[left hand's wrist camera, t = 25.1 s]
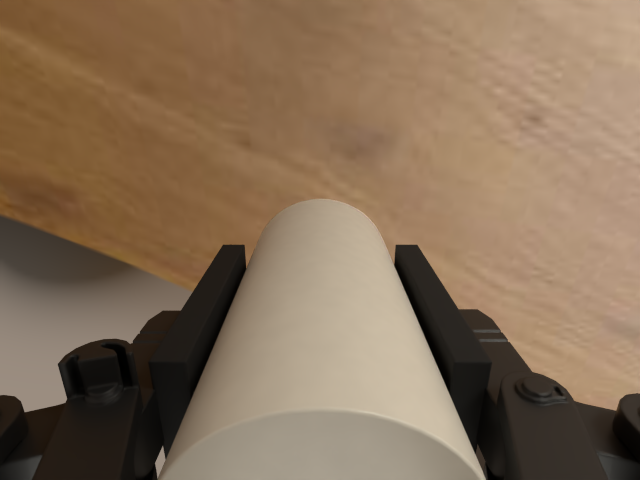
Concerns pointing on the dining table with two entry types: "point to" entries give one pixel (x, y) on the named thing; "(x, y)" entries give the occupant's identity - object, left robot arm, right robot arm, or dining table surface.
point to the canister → (321, 368)
